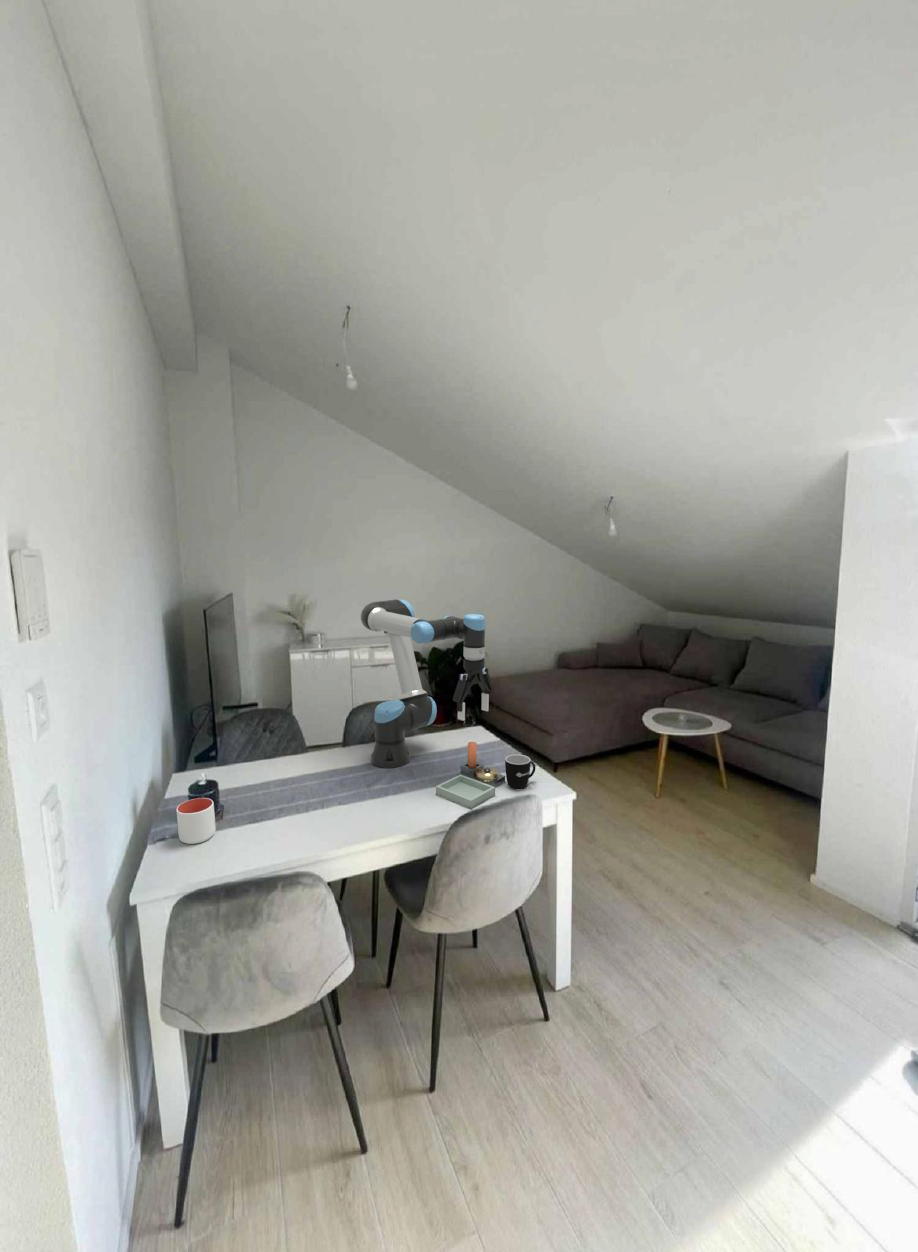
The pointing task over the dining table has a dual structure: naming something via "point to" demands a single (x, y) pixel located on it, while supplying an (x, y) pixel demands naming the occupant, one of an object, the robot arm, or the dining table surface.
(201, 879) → the dining table surface
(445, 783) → the tray
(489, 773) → the pulley block
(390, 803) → the dining table surface
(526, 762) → the mug
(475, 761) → the pin
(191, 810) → the cup
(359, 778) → the dining table surface
